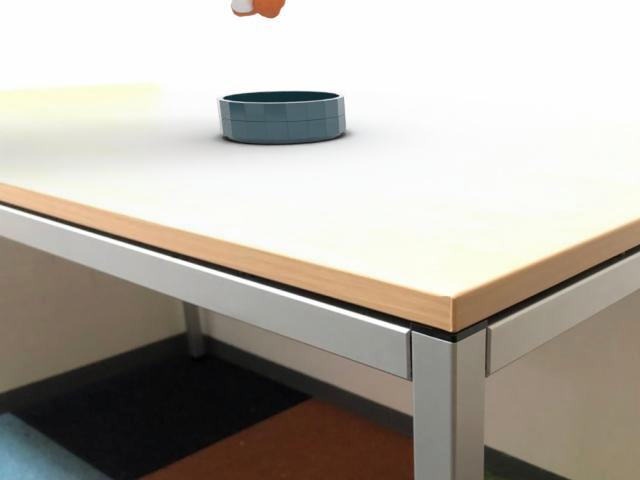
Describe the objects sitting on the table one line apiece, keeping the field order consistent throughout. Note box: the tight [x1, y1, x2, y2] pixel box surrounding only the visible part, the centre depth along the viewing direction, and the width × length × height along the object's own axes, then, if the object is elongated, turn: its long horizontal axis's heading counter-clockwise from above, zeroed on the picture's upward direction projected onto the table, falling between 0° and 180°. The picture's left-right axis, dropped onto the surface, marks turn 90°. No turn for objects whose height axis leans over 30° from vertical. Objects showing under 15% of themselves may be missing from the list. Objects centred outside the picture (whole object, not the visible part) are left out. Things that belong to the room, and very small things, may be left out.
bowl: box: [216, 90, 347, 145], centre depth 99 cm, size 16×16×5 cm
